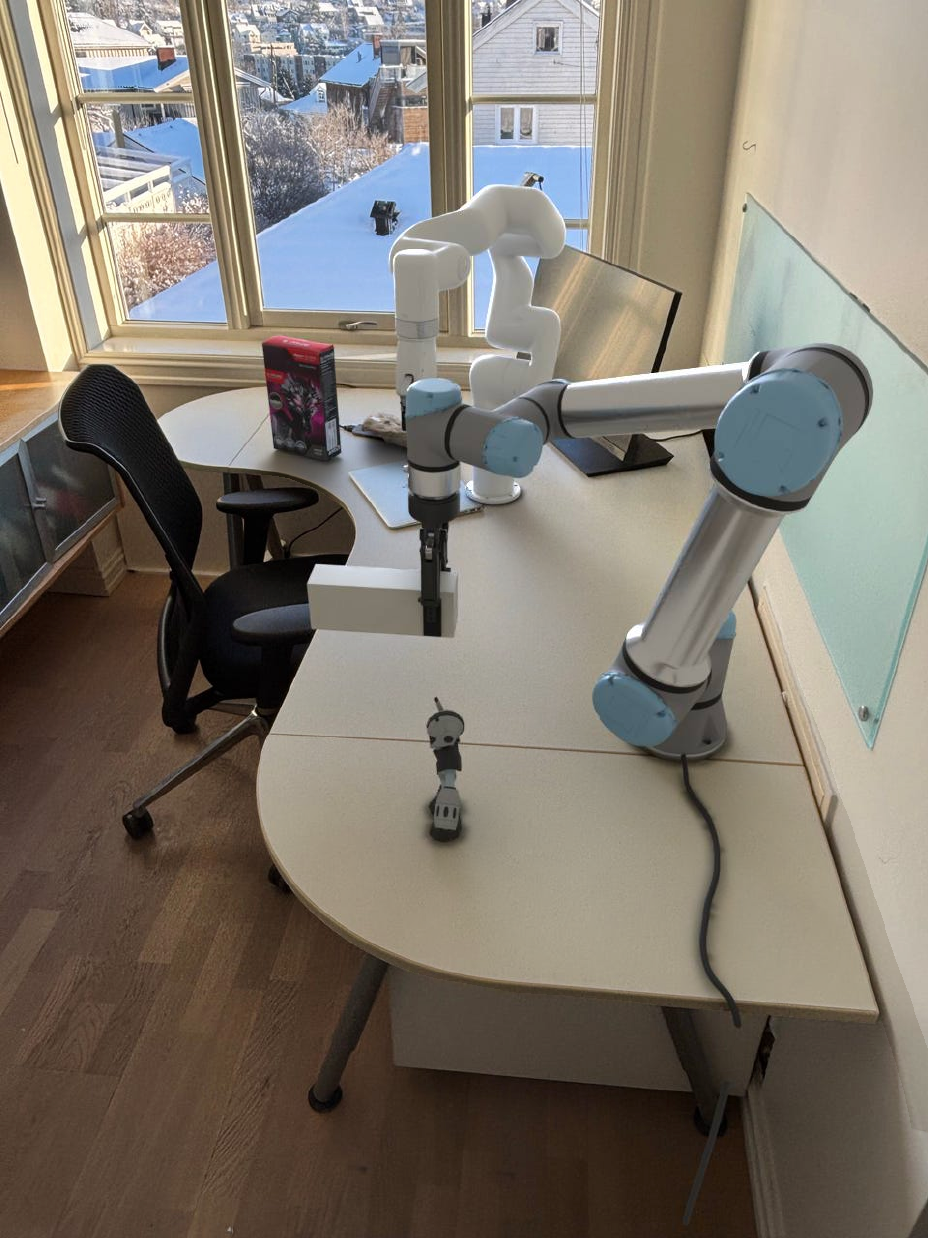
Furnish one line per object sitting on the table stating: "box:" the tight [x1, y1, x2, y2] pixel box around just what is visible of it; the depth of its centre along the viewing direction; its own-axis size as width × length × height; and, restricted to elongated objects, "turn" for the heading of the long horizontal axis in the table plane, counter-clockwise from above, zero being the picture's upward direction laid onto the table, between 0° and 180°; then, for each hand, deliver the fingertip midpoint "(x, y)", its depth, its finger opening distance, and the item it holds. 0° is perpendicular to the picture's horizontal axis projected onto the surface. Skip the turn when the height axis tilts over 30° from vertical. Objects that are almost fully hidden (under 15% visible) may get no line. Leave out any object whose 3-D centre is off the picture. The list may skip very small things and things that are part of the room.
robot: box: [425, 696, 465, 842], centre depth 121 cm, size 20×5×20 cm, turn 3°
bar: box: [306, 563, 459, 639], centre depth 143 cm, size 22×6×8 cm, turn 84°
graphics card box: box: [261, 334, 342, 462], centre depth 222 cm, size 17×7×27 cm, turn 62°
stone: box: [360, 412, 407, 449], centre depth 233 cm, size 21×15×6 cm
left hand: (419, 421), depth 168 cm, fingers open, 9 cm apart
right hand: (435, 622), depth 145 cm, fingers closed on bar, 6 cm apart
